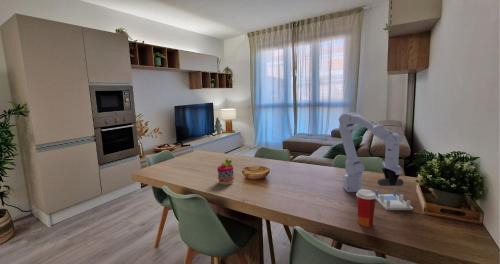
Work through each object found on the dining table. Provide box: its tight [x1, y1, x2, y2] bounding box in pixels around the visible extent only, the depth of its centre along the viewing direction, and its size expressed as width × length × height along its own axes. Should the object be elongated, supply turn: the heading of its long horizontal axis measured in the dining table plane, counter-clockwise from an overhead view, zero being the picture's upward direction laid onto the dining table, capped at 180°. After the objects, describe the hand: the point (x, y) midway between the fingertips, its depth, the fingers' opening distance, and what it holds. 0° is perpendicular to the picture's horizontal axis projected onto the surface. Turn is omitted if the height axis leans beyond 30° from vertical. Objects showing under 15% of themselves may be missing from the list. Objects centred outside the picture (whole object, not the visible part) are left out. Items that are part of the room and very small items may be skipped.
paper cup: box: [355, 188, 377, 228], centre depth 101 cm, size 8×8×14 cm
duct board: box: [374, 189, 414, 211], centre depth 118 cm, size 12×15×4 cm
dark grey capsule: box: [377, 177, 404, 187], centre depth 119 cm, size 12×4×4 cm, turn 85°
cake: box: [217, 158, 235, 186], centre depth 155 cm, size 10×11×15 cm
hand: (390, 183), depth 119 cm, fingers closed on dark grey capsule, 4 cm apart
